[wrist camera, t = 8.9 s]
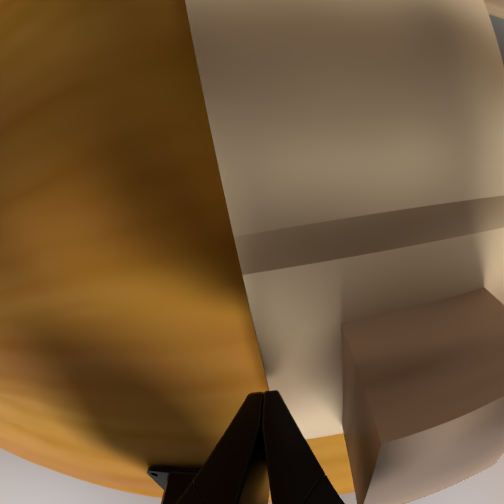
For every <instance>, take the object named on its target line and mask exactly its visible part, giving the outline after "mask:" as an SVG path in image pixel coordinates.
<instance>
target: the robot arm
mask: <svg viewBox="0 0 504 504" xmlns="http://www.w3.org/2000/svg"><path fill="white" fill-rule="evenodd" d="M147 473H148V475H149V476H150V477H151V478H152V479H153V480H154V481H155V482H156V483H157V484H158V485H159V486H161V487H162V488H163V489H164V493H163V497H162V502H161V504H268V498H269V488H270V492H271V499H272V504H345V503H344V502H343V501H342V499H341V498H340V497H339V495H338V494H337V492H336V491H335V489H334V488H333V486H332V484H331V483H330V481H329V479H328V478H327V476H326V475H325V473H324V471H323V469H322V468H321V466H320V464H319V463H318V461H317V459H316V457H315V456H314V454H313V452H312V450H311V449H310V447H309V445H308V443H307V442H306V440H305V438H304V436H303V435H302V433H301V431H300V429H299V427H298V426H297V424H296V422H295V420H294V418H293V417H292V415H291V413H290V411H289V409H288V407H287V406H286V404H285V402H284V400H283V398H282V396H281V395H280V393H279V391H278V390H272V391H265V392H264V393H263V392H254V393H250V394H248V396H247V397H246V399H245V401H244V402H243V404H242V406H241V407H240V409H239V411H238V412H237V414H236V415H235V417H234V419H233V420H232V422H231V423H230V425H229V427H228V428H227V430H226V431H225V433H224V434H223V436H222V438H221V439H220V441H219V442H218V444H217V445H216V447H215V448H214V450H213V451H212V453H211V454H210V456H209V457H208V459H207V460H206V462H205V463H204V465H203V466H202V468H201V469H200V470H195V469H177V468H165V467H155V466H149V467H148V471H147Z"/></svg>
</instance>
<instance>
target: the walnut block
mask: <svg viewBox="0 0 504 504" xmlns="http://www.w3.org/2000/svg"><path fill="white" fill-rule="evenodd" d="M341 329H342V363H343V413H342V427H343V432H344V437H345V441H346V446H347V451H348V456H349V461H350V467H351V472H352V477H353V483H354V488H355V493H356V499H357V504H405V503H407V502H411V501H414V500H416V499H419V498H422V497H425V496H427V495H430V494H433V493H435V492H438V491H440V490H442V489H445V488H447V487H450V486H452V485H454V484H457V483H459V482H461V481H463V480H465V479H467V478H469V477H471V476H473V475H475V474H477V473H479V472H481V471H483V470H485V469H487V468H489V467H491V466H492V465H494V464H495V463H496V462H497V460H498V459H499V458H500V457H501V455H502V454H503V453H504V305H503V304H502V303H501V302H500V301H499V300H498V299H497V298H496V297H495V296H493V295H492V294H491V293H490V292H489V291H488V290H487V289H486V288H481V289H478V290H474V291H471V292H468V293H464V294H461V295H457V296H454V297H450V298H447V299H443V300H440V301H436V302H432V303H428V304H424V305H421V306H417V307H413V308H409V309H404V310H400V311H396V312H392V313H387V314H383V315H378V316H374V317H369V318H364V319H360V320H355V321H350V322H345V323H341Z"/></svg>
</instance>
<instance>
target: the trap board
mask: <svg viewBox="0 0 504 504" xmlns="http://www.w3.org/2000/svg"><path fill="white" fill-rule="evenodd" d="M185 4H186V9H187V14H188V20H189V25H190V30H191V35H192V40H193V45H194V50H195V55H196V61H197V66H198V71H199V76H200V80H201V85H202V90H203V95H204V100H205V105H206V110H207V115H208V120H209V124H210V129H211V134H212V139H213V143H214V148H215V153H216V158H217V162H218V167H219V172H220V176H221V181H222V186H223V190H224V195H225V199H226V204H227V208H228V213H229V218H230V222H231V227H232V231H233V236H234V240H235V245H236V249H237V254H238V258H239V262H240V267H241V271H242V276H243V280H244V284H245V289H246V293H247V297H248V302H249V306H250V310H251V315H252V319H253V323H254V328H255V332H256V336H257V340H258V345H259V349H260V353H261V357H262V361H263V366H264V370H265V374H266V378H267V382H268V386H269V391H272V390H278V391H279V393H280V395H281V396H282V398H283V400H284V402H285V404H286V406H287V407H288V409H289V411H290V413H291V415H292V417H293V418H294V420H295V422H296V424H297V426H298V427H299V429H300V431H301V433H302V435H303V436H304V438H305V439H312V438H318V437H324V436H330V435H335V434H341V433H344V432H343V427H342V413H343V363H342V329H341V323H345V322H350V321H355V320H360V319H364V318H369V317H374V316H378V315H383V314H387V313H392V312H396V311H400V310H404V309H409V308H413V307H417V306H421V305H424V304H428V303H432V302H436V301H440V300H443V299H447V298H450V297H454V296H457V295H461V294H464V293H468V292H471V291H474V290H478V289H481V288H486V289H487V290H488V291H489V292H490V293H491V294H492V295H493V296H495V297H496V298H497V299H498V300H499V301H500V302H501V303H502V304H503V305H504V0H185Z"/></svg>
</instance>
